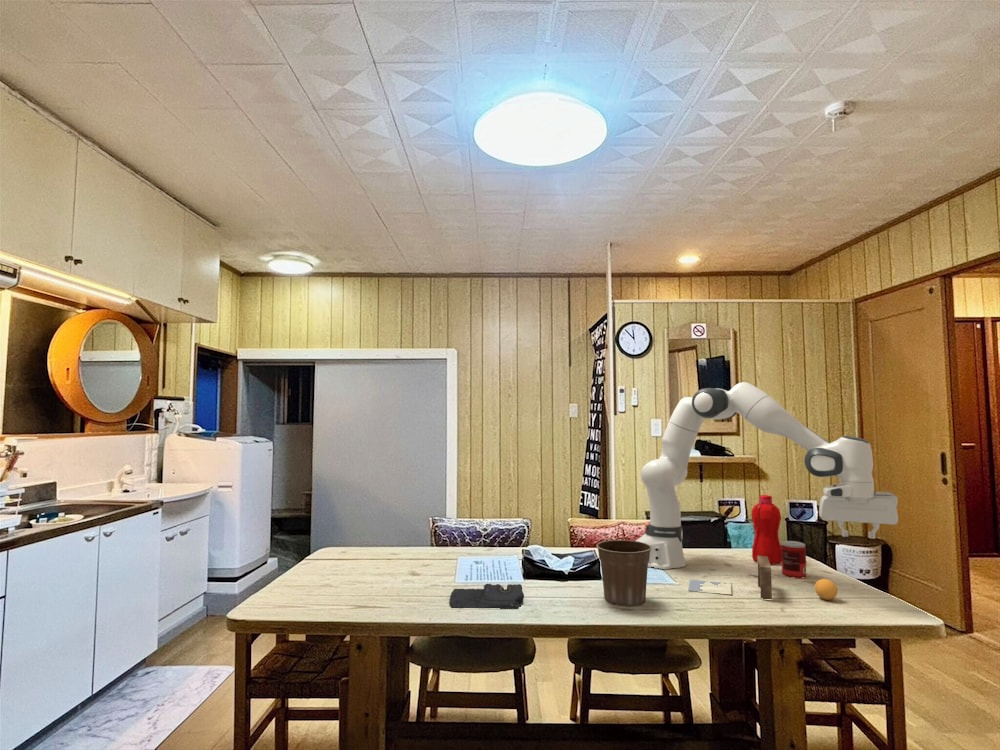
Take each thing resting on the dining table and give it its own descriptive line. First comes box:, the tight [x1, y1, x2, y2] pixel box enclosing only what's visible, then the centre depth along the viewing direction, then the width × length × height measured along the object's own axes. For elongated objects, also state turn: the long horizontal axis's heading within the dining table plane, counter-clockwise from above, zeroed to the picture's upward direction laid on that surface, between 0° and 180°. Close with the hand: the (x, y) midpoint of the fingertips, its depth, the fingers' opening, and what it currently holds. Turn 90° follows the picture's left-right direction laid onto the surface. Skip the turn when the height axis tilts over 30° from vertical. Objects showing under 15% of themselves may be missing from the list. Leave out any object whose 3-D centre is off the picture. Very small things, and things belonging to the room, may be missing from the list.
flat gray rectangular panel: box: [687, 579, 732, 592], centre depth 188 cm, size 13×13×1 cm
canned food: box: [780, 540, 807, 579], centre depth 203 cm, size 8×8×11 cm
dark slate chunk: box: [449, 583, 525, 610], centre depth 174 cm, size 15×22×5 cm
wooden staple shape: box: [757, 556, 773, 600], centre depth 183 cm, size 3×15×10 cm, turn 159°
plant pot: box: [596, 539, 652, 607], centre depth 176 cm, size 16×16×16 cm
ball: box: [814, 578, 838, 601], centre depth 177 cm, size 6×6×6 cm
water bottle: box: [751, 494, 782, 566], centre depth 222 cm, size 9×11×25 cm
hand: (858, 537), depth 175 cm, fingers open, 5 cm apart
